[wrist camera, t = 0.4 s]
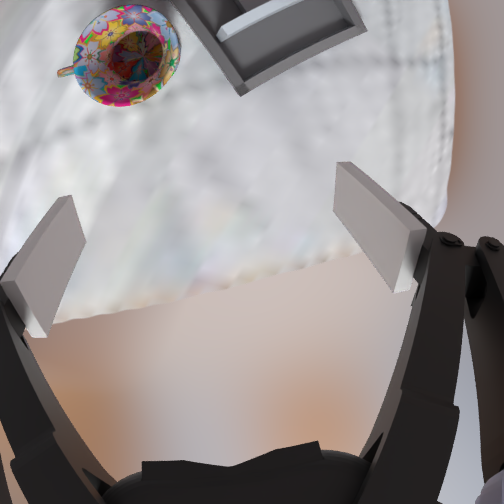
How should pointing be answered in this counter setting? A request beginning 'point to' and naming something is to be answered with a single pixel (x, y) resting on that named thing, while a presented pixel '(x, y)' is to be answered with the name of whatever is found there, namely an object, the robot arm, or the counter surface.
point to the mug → (125, 55)
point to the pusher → (252, 15)
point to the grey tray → (269, 36)
